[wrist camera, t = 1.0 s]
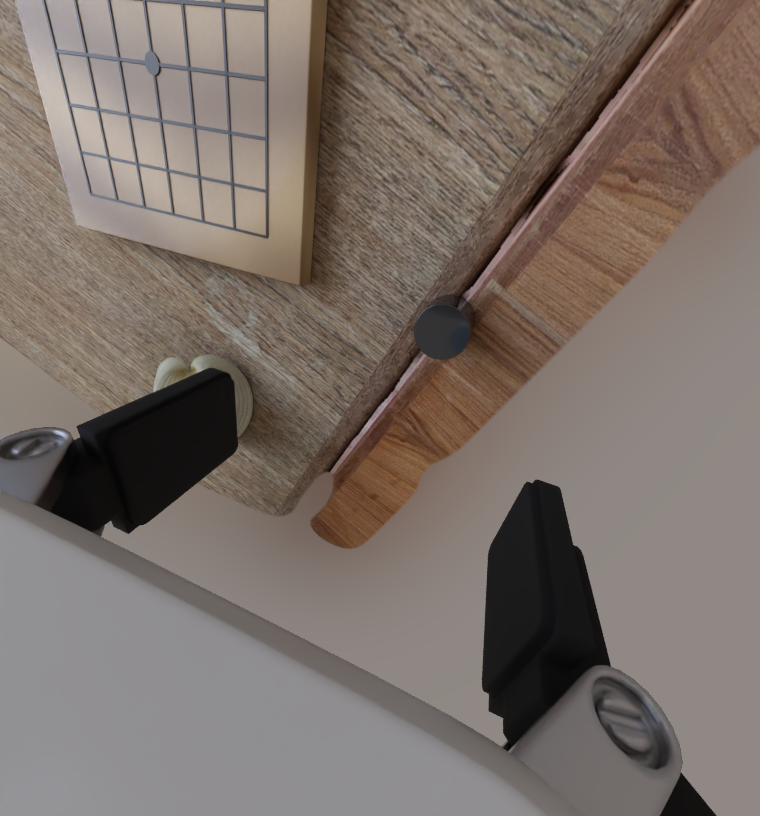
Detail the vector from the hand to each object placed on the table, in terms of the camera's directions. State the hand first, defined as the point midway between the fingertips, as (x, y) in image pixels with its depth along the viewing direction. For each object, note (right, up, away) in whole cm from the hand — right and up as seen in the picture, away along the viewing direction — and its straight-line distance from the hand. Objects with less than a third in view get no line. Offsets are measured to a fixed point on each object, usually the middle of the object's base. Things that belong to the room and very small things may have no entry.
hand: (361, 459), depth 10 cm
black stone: (+5, +7, +11) cm, 14 cm away
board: (-12, +22, +10) cm, 27 cm away
